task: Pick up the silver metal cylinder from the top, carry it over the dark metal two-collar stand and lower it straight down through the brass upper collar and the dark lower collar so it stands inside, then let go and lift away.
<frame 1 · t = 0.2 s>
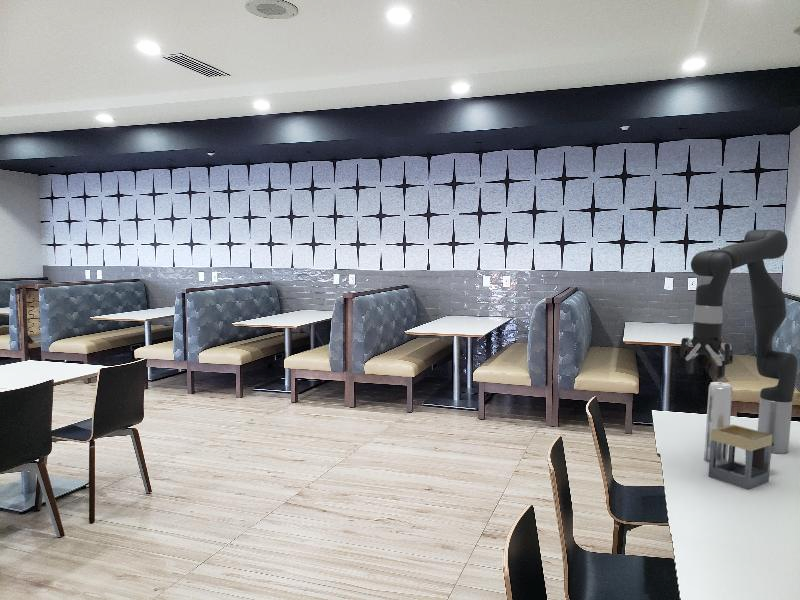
hand: (704, 375, 180), 29 cm above the table, tool pointing down, fingers open, 8 cm apart
collar stand: (738, 479, 178), on the table
silver metal cylinder: (715, 461, 193), on the table
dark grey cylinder: (756, 471, 186), on the table
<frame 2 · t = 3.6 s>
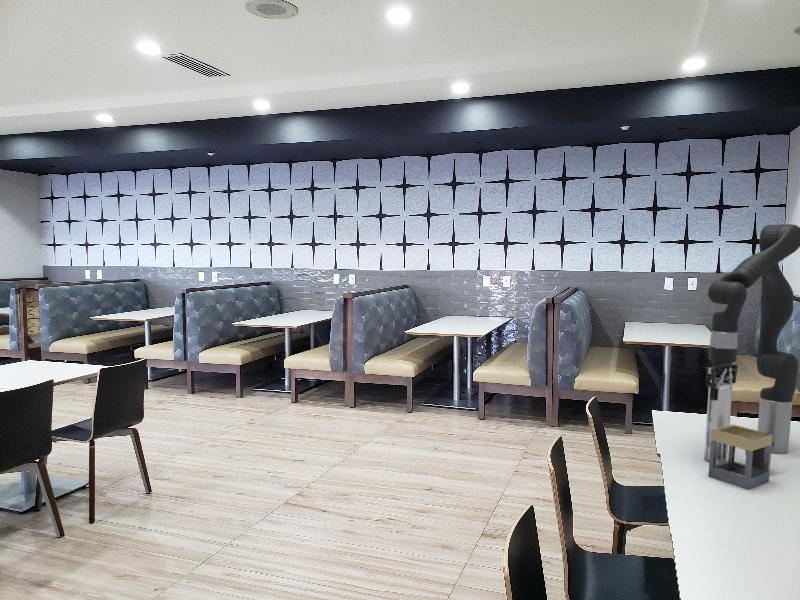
hand: (719, 398, 191), 20 cm above the table, tool pointing down, fingers closed on silver metal cylinder, 6 cm apart
silver metal cylinder: (715, 461, 193), on the table, touching gripper
everything else where it was.
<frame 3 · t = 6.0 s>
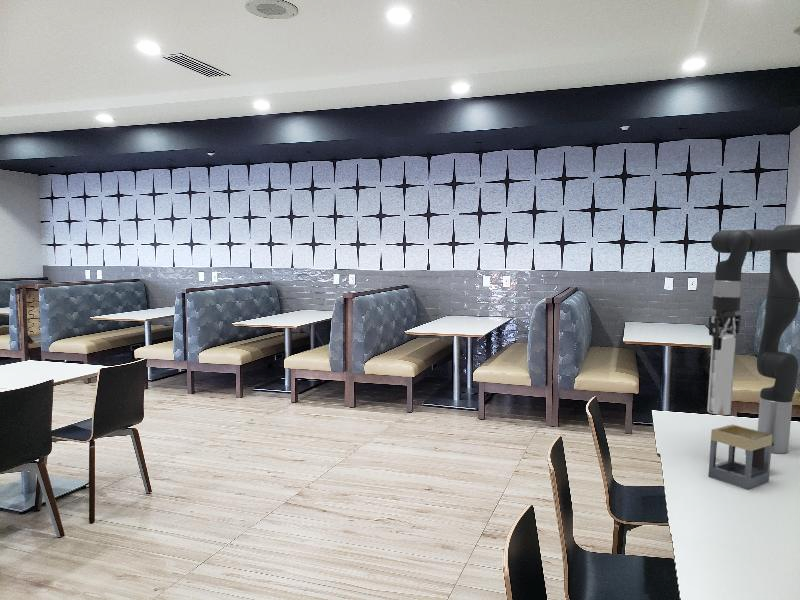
hand: (723, 348, 190), 36 cm above the table, tool pointing down, fingers closed on silver metal cylinder, 6 cm apart
silver metal cylinder: (718, 413, 192), point 16 cm above the table, touching gripper
everything else where it was.
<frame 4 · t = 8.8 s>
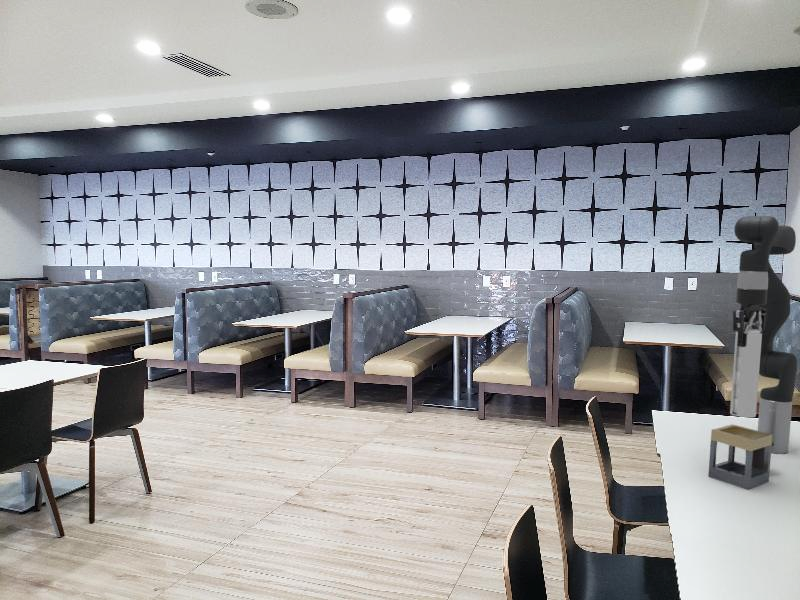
hand: (748, 345, 175), 39 cm above the table, tool pointing down, fingers closed on silver metal cylinder, 6 cm apart
silver metal cylinder: (742, 415, 177), point 19 cm above the table, touching gripper
everything else where it was.
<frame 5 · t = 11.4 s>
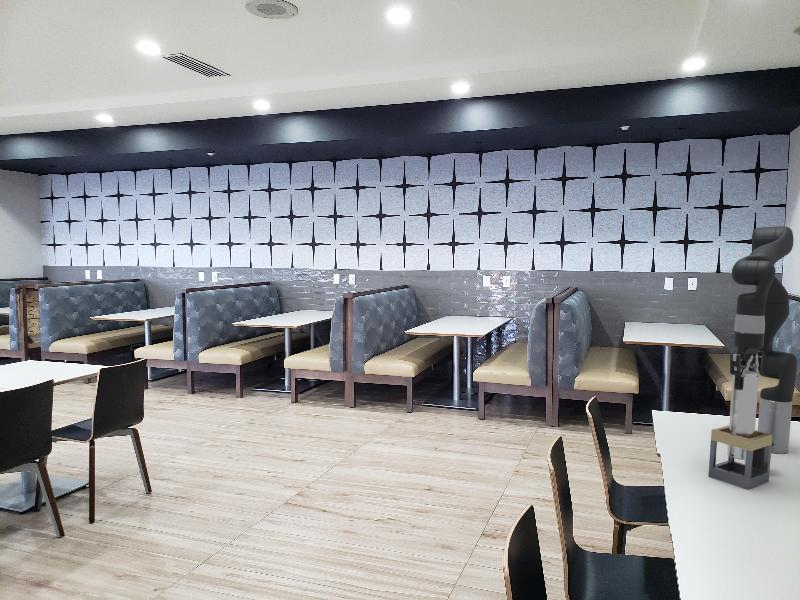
hand: (745, 387, 176), 27 cm above the table, tool pointing down, fingers closed on silver metal cylinder, 6 cm apart
silver metal cylinder: (739, 456, 178), point 7 cm above the table, touching gripper
everything else where it was.
when the fingers open (22 cm above the table, at t = 13.9 s): silver metal cylinder drops 1 cm, resting in collar stand.
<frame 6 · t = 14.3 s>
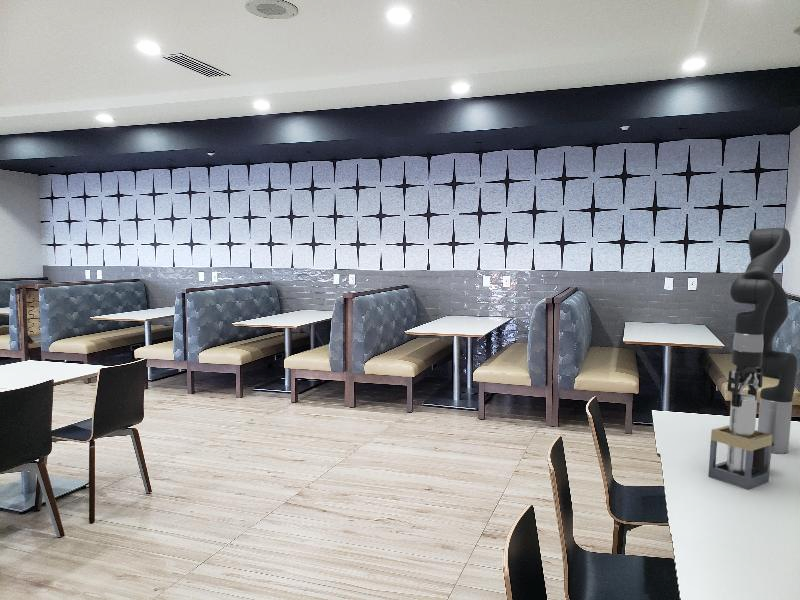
hand: (743, 404, 176), 22 cm above the table, tool pointing down, fingers open, 8 cm apart
silver metal cylinder: (738, 479, 178), resting in collar stand
everything else where it was.
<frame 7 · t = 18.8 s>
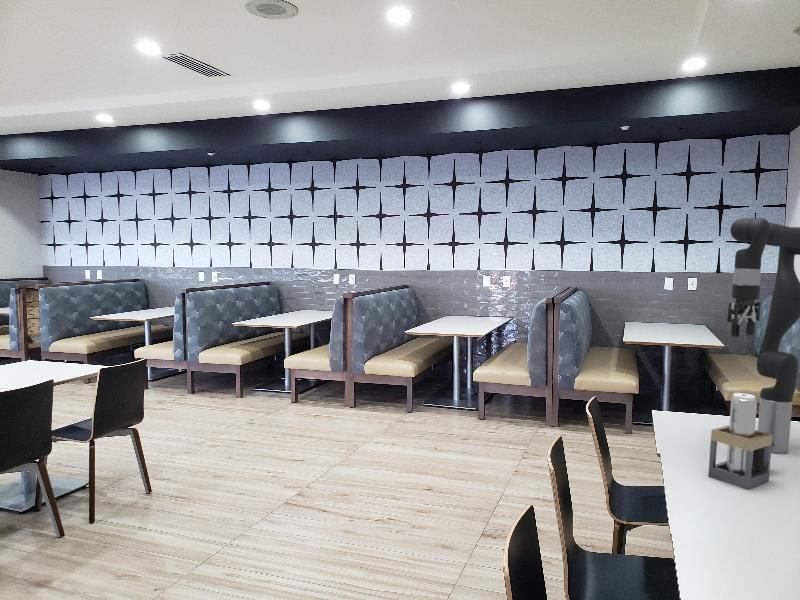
hand: (742, 335, 190), 40 cm above the table, tool pointing down, fingers open, 8 cm apart
nothing on the table moved.
at the end: silver metal cylinder 0.1 cm off-centre on the collar stand, point 0.0 cm above the collar stand's base; silver metal cylinder tilted 0°; the gripper is holding nothing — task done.
